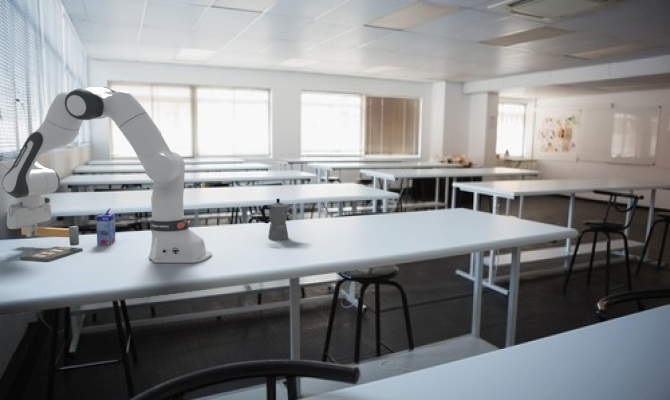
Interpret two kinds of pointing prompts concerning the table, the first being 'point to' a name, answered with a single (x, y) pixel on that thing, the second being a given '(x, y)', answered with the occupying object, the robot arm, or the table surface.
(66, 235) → the hammer
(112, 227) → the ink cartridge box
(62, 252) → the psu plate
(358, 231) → the table surface
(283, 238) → the coffeepot
